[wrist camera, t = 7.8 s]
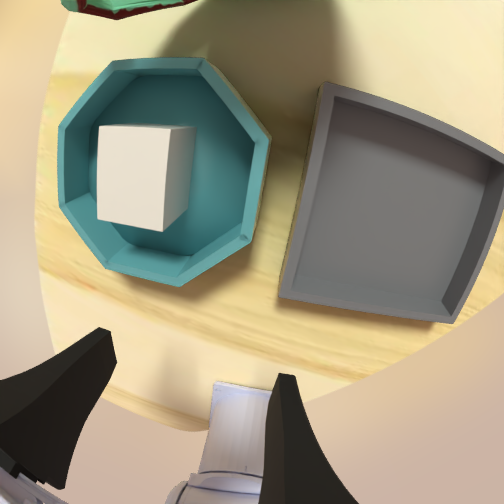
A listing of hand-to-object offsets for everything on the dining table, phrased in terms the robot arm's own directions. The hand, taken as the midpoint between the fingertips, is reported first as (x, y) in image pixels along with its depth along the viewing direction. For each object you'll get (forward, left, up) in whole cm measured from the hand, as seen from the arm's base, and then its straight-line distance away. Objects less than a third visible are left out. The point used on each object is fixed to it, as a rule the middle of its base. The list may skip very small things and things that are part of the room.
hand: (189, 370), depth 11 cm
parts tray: (+6, -10, -9) cm, 15 cm away
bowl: (+6, +5, -9) cm, 12 cm away
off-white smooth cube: (+6, +5, -9) cm, 12 cm away
